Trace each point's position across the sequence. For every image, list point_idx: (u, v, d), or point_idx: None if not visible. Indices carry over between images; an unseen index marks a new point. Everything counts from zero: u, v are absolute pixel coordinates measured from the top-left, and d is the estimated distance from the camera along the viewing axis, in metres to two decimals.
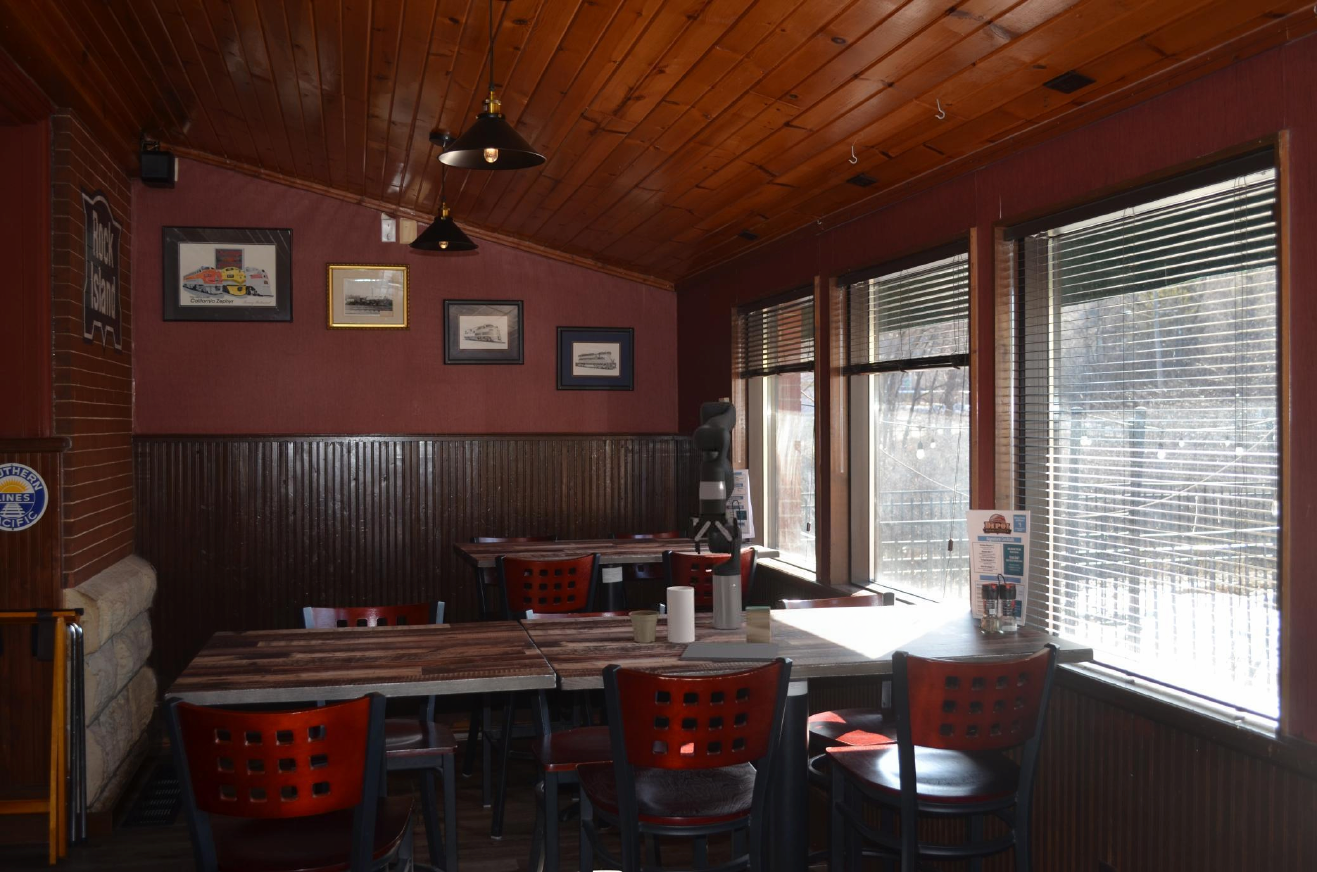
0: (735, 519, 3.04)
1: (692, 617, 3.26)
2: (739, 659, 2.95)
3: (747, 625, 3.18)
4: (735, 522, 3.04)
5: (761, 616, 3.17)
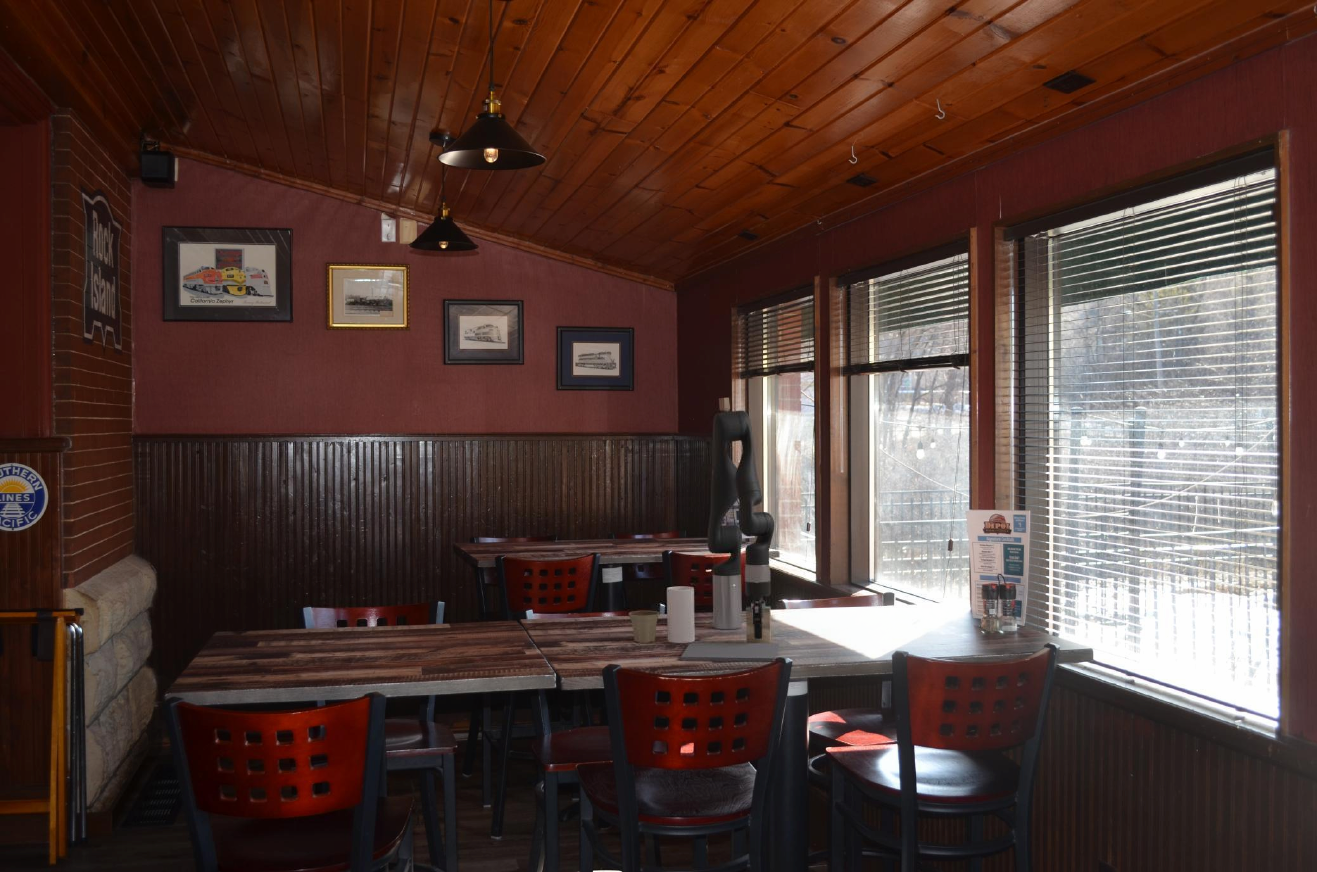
0: (763, 601, 3.25)
1: (692, 617, 3.26)
2: (739, 659, 2.95)
3: (747, 625, 3.18)
4: None
5: None
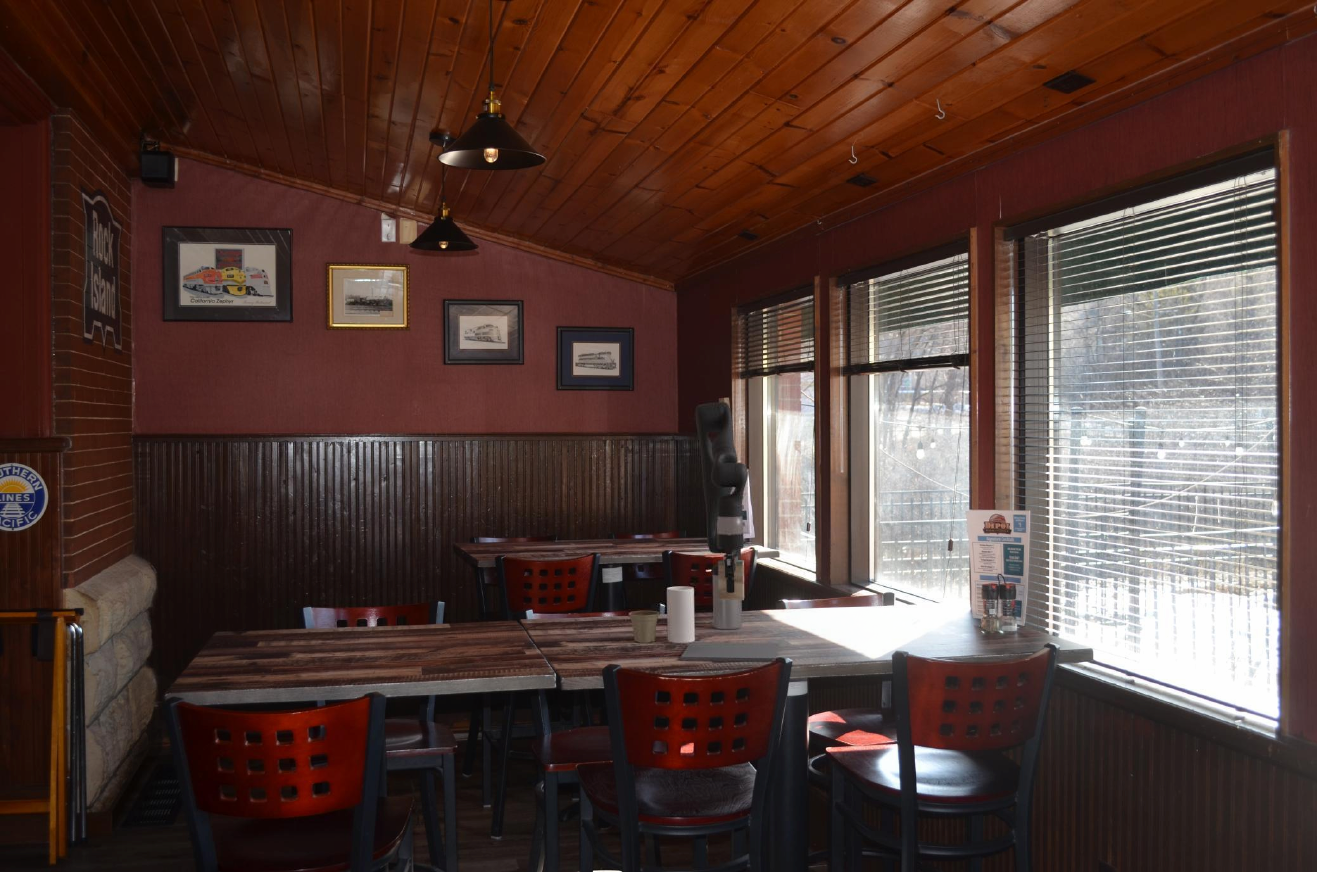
0: None
1: (692, 617, 3.26)
2: (739, 659, 2.95)
3: (719, 579, 3.08)
4: None
5: None
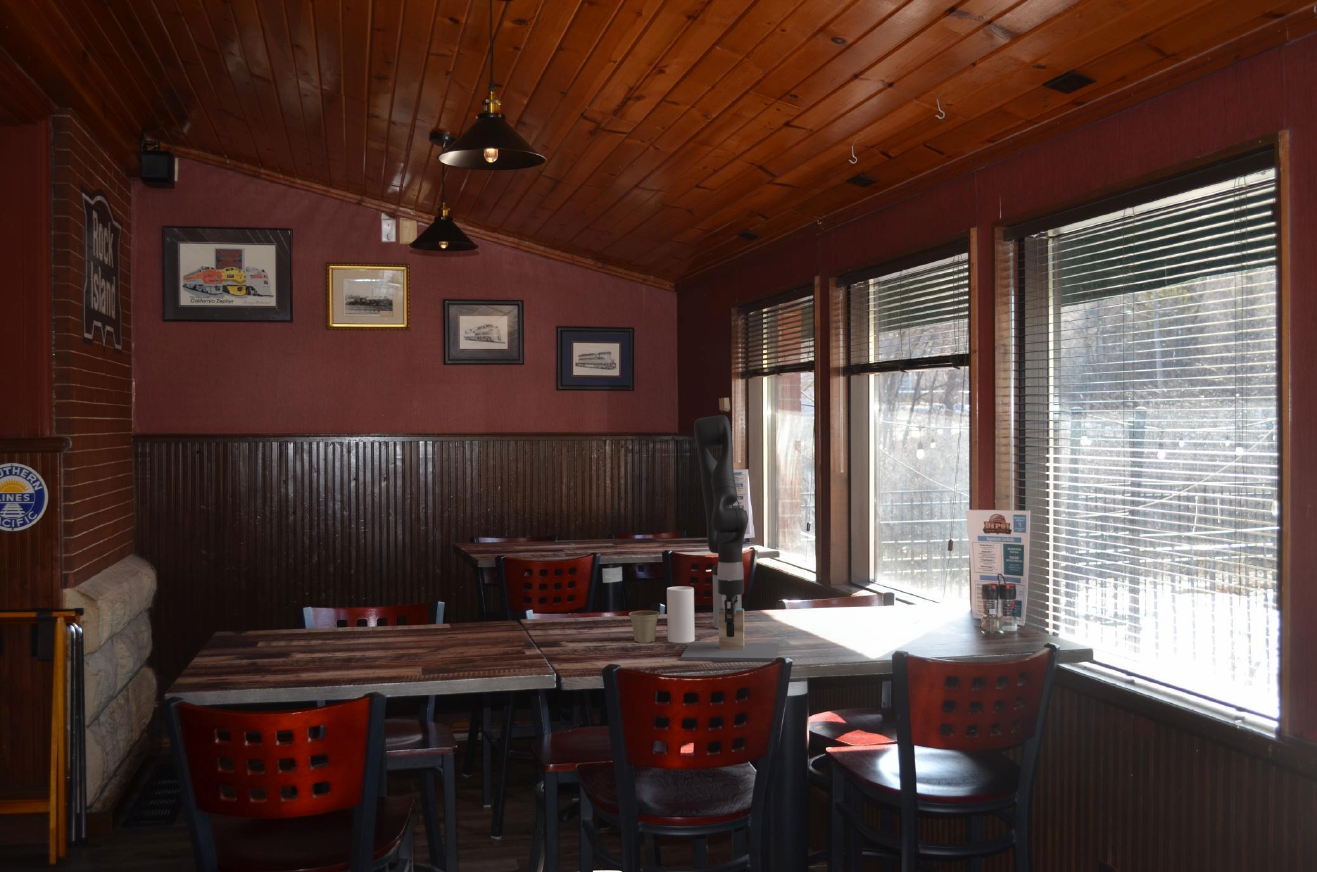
0: (737, 596, 3.15)
1: (692, 617, 3.26)
2: (739, 659, 2.95)
3: (720, 628, 3.08)
4: (737, 599, 3.15)
5: None
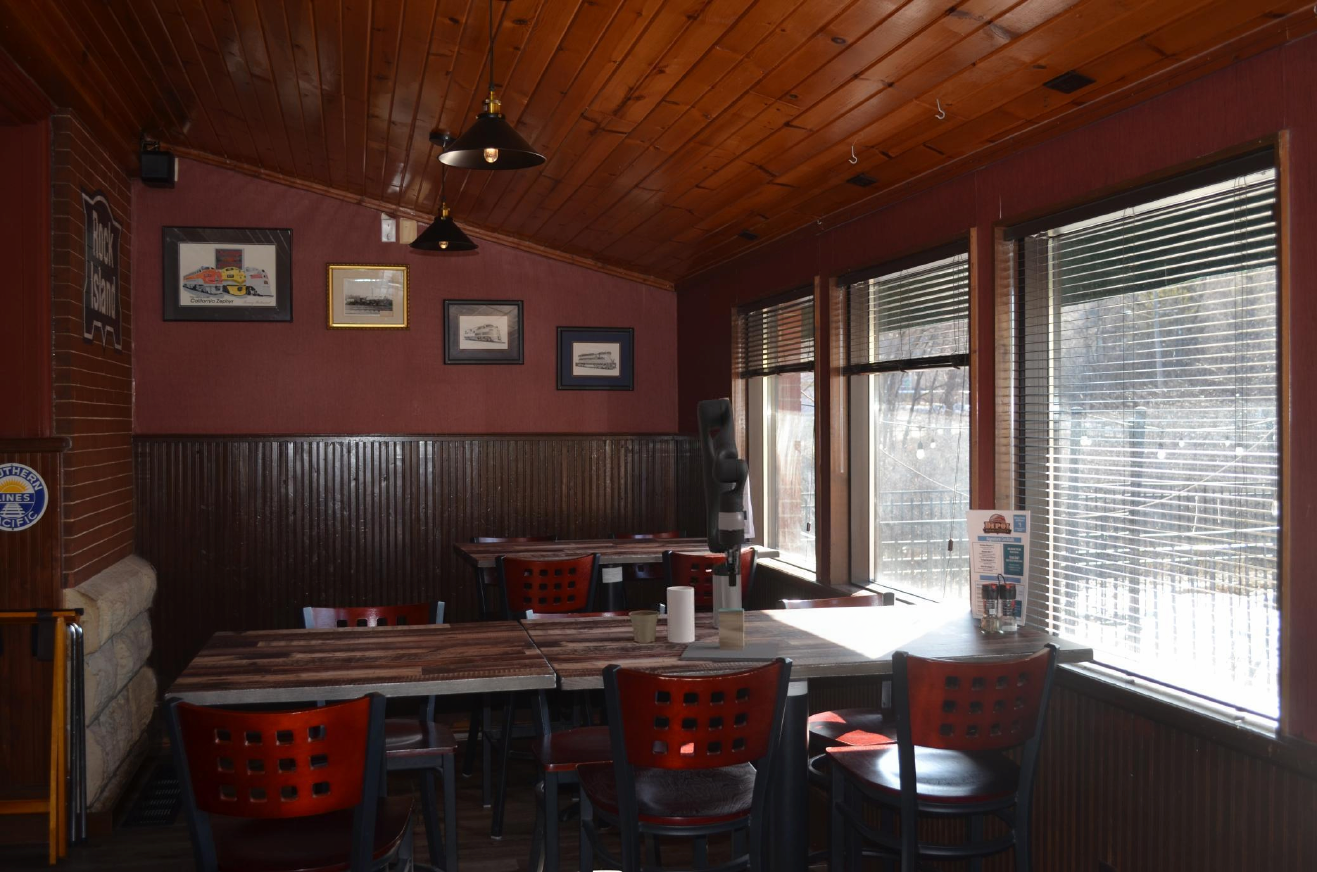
0: None
1: (692, 617, 3.26)
2: (739, 659, 2.95)
3: (720, 628, 3.08)
4: None
5: (734, 618, 3.07)
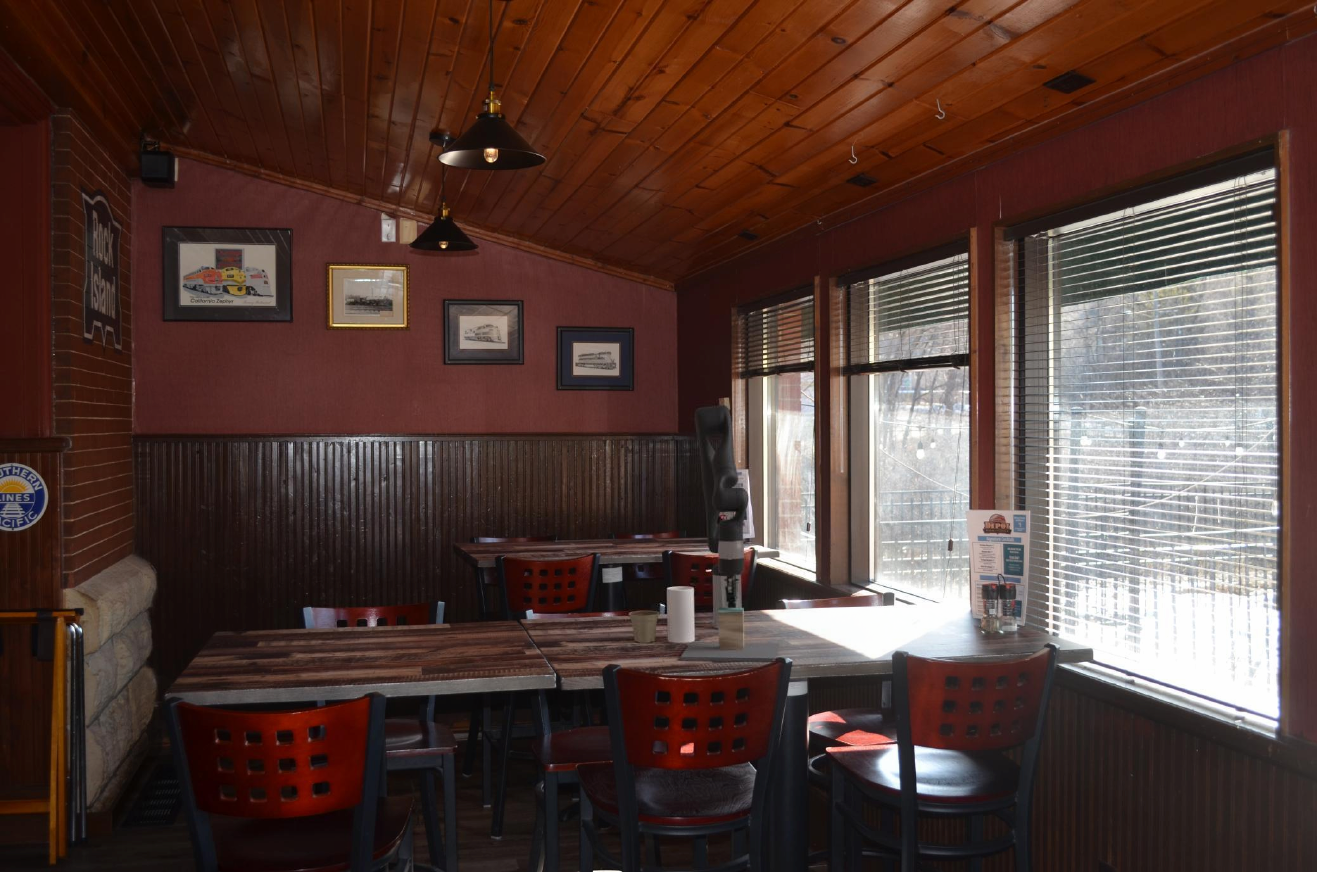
0: None
1: (692, 617, 3.26)
2: (739, 659, 2.95)
3: (719, 628, 3.07)
4: None
5: (734, 619, 3.06)
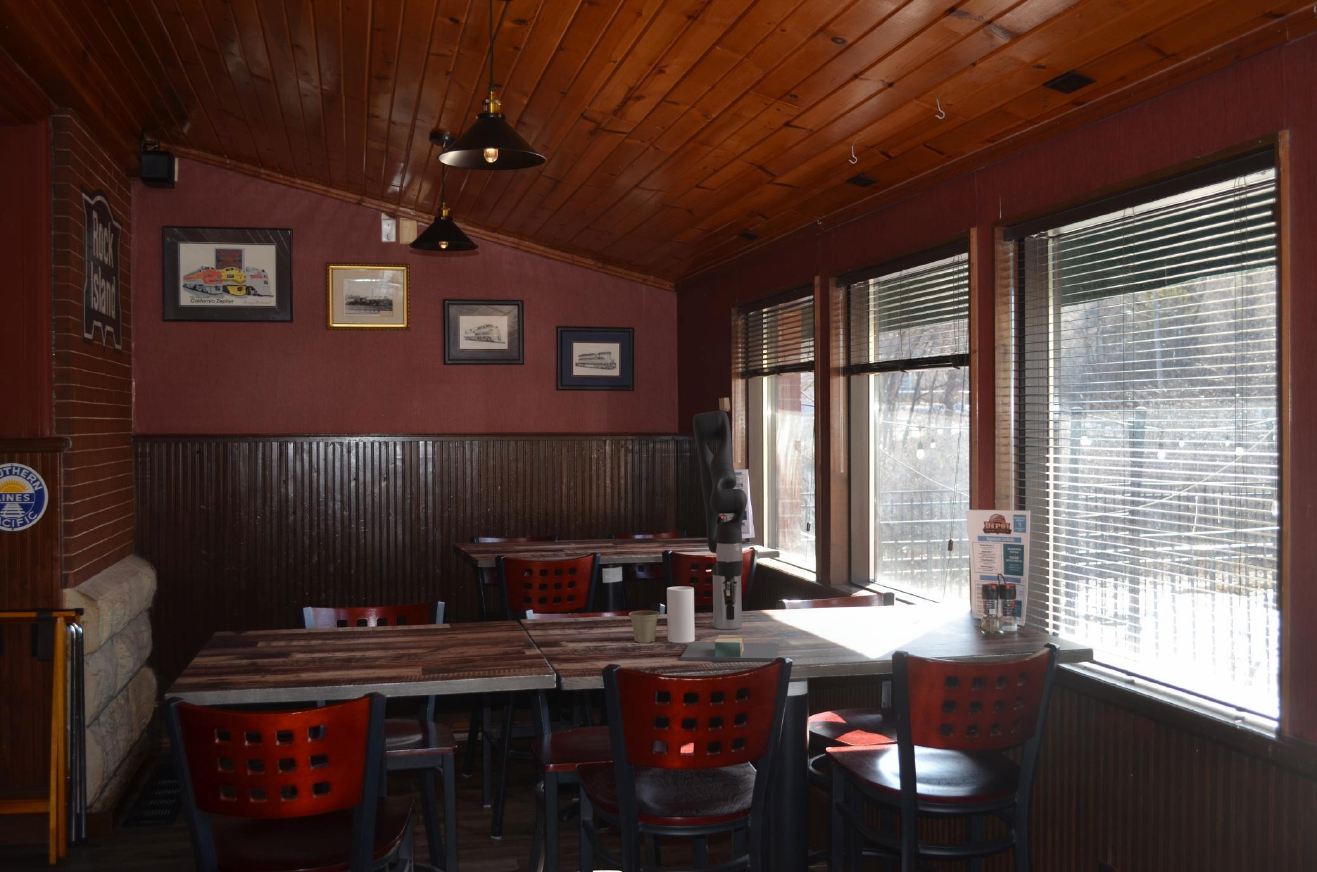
0: None
1: (692, 617, 3.26)
2: (739, 659, 2.95)
3: None
4: None
5: None
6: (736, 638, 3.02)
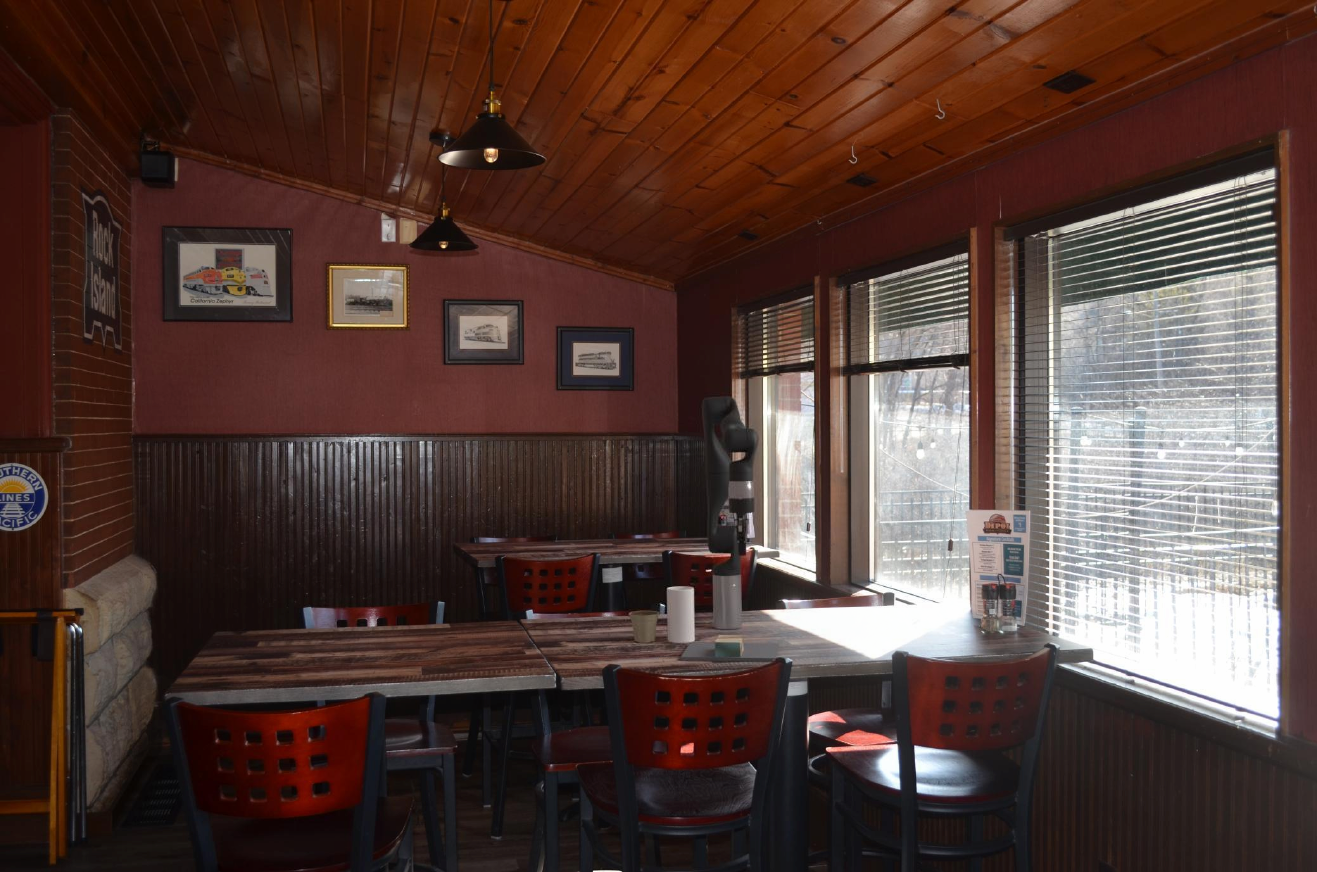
0: None
1: (692, 617, 3.26)
2: (739, 659, 2.95)
3: None
4: None
5: None
6: (736, 638, 3.02)
